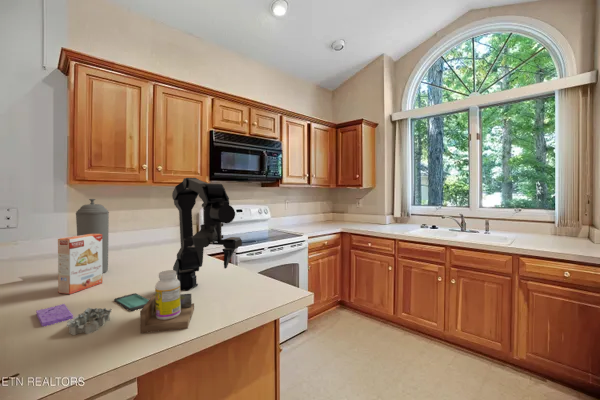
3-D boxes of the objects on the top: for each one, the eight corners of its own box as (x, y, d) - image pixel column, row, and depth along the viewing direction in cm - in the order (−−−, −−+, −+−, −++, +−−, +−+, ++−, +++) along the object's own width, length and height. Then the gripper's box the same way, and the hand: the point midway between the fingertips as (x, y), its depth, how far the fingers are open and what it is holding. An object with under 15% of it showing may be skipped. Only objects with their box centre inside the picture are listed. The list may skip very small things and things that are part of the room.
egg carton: (93, 335, 76) (93, 320, 76) (63, 336, 75) (62, 321, 75) (114, 317, 86) (114, 304, 86) (88, 318, 86) (88, 305, 85)
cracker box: (70, 295, 104) (69, 239, 104) (57, 293, 106) (56, 238, 105) (104, 282, 118) (103, 233, 117) (92, 282, 119) (91, 233, 119)
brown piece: (154, 313, 89) (153, 294, 89) (194, 309, 92) (193, 291, 91) (140, 333, 76) (140, 311, 76) (187, 328, 79) (187, 307, 79)
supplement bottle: (157, 312, 84) (156, 270, 84) (180, 309, 87) (180, 268, 86) (154, 322, 78) (153, 276, 78) (180, 318, 81) (179, 274, 80)
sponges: (64, 309, 93) (64, 303, 93) (73, 320, 85) (73, 314, 85) (35, 316, 88) (35, 310, 88) (42, 328, 80) (42, 322, 80)
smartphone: (135, 292, 105) (154, 301, 95) (135, 295, 105) (154, 305, 95) (112, 298, 99) (130, 309, 90) (112, 301, 99) (130, 313, 90)
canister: (115, 271, 135) (113, 198, 134) (83, 278, 124) (82, 199, 123) (102, 267, 141) (101, 198, 140) (72, 274, 131) (70, 198, 130)
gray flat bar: (157, 308, 87) (157, 296, 87) (191, 305, 89) (191, 293, 89) (156, 310, 86) (156, 297, 86) (191, 307, 88) (190, 294, 88)
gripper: (171, 222, 88) (172, 272, 88) (226, 224, 84) (226, 276, 84) (193, 219, 99) (193, 263, 99) (242, 220, 94) (242, 266, 95)
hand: (212, 267), depth 94 cm, fingers open, 9 cm apart
